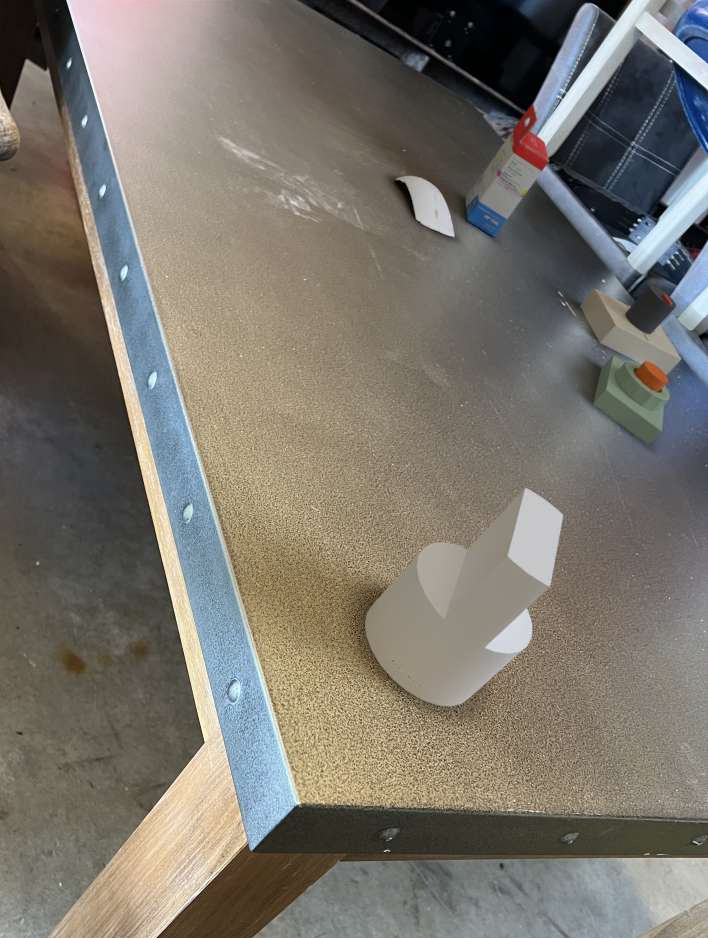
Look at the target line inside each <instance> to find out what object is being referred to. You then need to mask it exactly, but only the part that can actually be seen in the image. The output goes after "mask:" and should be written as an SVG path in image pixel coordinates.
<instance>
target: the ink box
mask: <svg viewBox="0 0 708 938" xmlns="http://www.w3.org/2000/svg"><path fill="white" fill-rule="evenodd" d="M528 119H529V122H528V123H527V121H528ZM537 122H538V118H537V113H536V109H535V105H534V104H531V105H530V106H529V107H528V108H527V110H526V111H525V113H524V114H523V115H522V117H521V118H520V120H519V121H518V122H517V123H516V125H515V126H514V128H513V129H512V130H511V132H510V134H509V135H508V137H507V138H506V139H505V141H504V143H503V144H502V145H501V147H500V148H499V149H498V151H497V152H496V154H495V155H494V156H493V158H492V159H491V160H490V163H489V164H488V166H487V167H486V169H485V170H484V171H483V173H482V174H481V176H480V177H479V179H478V180H477V181H476V183H475V185H474V186H473V188H472V189H471V190H470V191H469V193H468V194H467V196H466V197H465V215H466V218H465V219H466V221H467V222H469V223H470V224H472V225H473V226H475V227H477V228H478V229H480V230H482V231H483V232H484V233H486V234H488V235H489V236H491V237H493V238H495V237H496V236H497V235H498V233H499V232H500V230H501V229H502V227H503V226H504V224H505V223H506V222H507V221H508V219H509V218H510V217H511V215H512V214H513V212H514V210H516V208H517V206H518V205H519V204H520V202H521V200H523V198H524V197H525V195H526V194H527V193H528V191H529V190H530V189H531V187H532V186H533V184H534V183H535V182H536V180H537V179H538V177H539V176H540V175H541V173H542V172H543V171H544V169H545V168H546V166H547V165H548V164H549V163H550V158H549V155H548V151H547V147H546V143H545V141H544V140H543V139H542V138H540V137H539V136H537V135H536V134H535V133H533V132H532V130H533V128H534V127H535V126H536V124H537Z"/></svg>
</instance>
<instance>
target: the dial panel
mask: <svg viewBox="0 0 708 938" xmlns="http://www.w3.org/2000/svg"><path fill="white" fill-rule="evenodd" d="M579 307H580V309H581V311H582V312H583V314H584V316H585V318H586V320H587V323H588V324H589V326H590V327H591V330H592V331H593V333H594V335H595V337H596V339H597V340H598V342H599V344H601V345H603V346H605V347H607V348H609V349H611V350H613V351H615V352H616V353H619V354H621V355H623V356H625V357H626V358H629V359H631V360H632V361H634V362H636V363H638V364H640V365H641V364H642V363H643V362H644V361H649V362H651V363H653V364H655V365H656V366H657V367H659V368H660V369H661V370H662V371H663V372H664V373H665V374H666V376H668V374H669V373H671V371H672V370H673V369H674V368H675V367H676V366H677V365H678V364H679V363H680V362H681V361H682V358H681V356H680V354H679V353H678V351H677V349H676V348H675V346H674V345H673V344H672V341H671V340H670V339H669V337H668V335H667V334H666V332H665V330H664V328H663V327H662V325H661V324H660V325H659V326H658V327H657V328H656V329H655V330H654V331H653V332H652V333H651V334H647V333H645V332H643V331H641V330H639V329H638V328H637V327H636V326H634V325H633V324H632V323H631V322H630V321H629V319H628V318H627V316H626V312H627V311H628V310H629V309H630V307H631V305H629V304H625V303H623V302H622V301H620V300H618V299H616V298H614V297H613V296H610V295H608V294H607V293H605V292H603V291H602V290H600V289H597V288H593V290H592V291H591V292H590V293H589V295H588V296H587V297H586V298H585V299H584V300H583V302H581V304H580V305H579Z"/></svg>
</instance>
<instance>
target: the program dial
mask: <svg viewBox="0 0 708 938" xmlns="http://www.w3.org/2000/svg"><path fill="white" fill-rule="evenodd" d="M676 308H677V303H676V302H675V301H674V299H673V298H672V297H671V296H670V295H669V294H667V292H666V291H664V290H662V289H661V288H660V287H658V286H656V285H653V284H650V285H649V286H648V287H647V288H646V289H645V291H643V293H642V294H641V295H640V296H639V297H638V299H636V301H634V303H633V304H632V305H630V309H629V310H628V311H627V312H626V316H627V318H628V319H629V321H630V322H631V323H632V324H633V325H634V326H636V327H637V328H638V329H639V330H641V331H643V332H645V333H647V334H651V333H652V332H653V331H654V330H655V329H656V328H657V327H658V326H659V325H660V326H661V324H662V323H663V322H664V321H665V320H666V319H667V317H668V316H669V315H670V314H671V313H672V312H673V311H674V310H675V309H676Z"/></svg>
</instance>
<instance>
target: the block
mask: <svg viewBox="0 0 708 938" xmlns="http://www.w3.org/2000/svg"><path fill="white" fill-rule="evenodd" d="M640 366H641V364H640V363H638V362H637V361H635V360H626V361H625V362H624V361H623V360H622V359H620V358H618V357H617V356H616V355H615V354H613V355H612V356H611V357H610V358H608V360H607V361H606V362H605V363H604V364H603V366H602V367H601V368H600V372H599V376H598V380H597V385H596V389H595V392H594V393H595V394H594V398H593V401H592V404H593V405H594V406H595V407H597V408H598V409H599V410H601V411H602V412H603V413H605V414H606V415H607V416H609V417H610V418H611V419H612V420H614V421H615V422H616V423H618V424H619V425H621V427H623V428H625V429H626V430H627V431H629V432H630V433H631V434H633V435H634V436H635V437H637V438H638V439H639V440H641V442H643V443H645V444H646V445H647V446H649V445H650V444H651V443H652V442H653V441H654V440H655V439H657V437H658V436H659V435H660V434H661V433H663V424H664V413H665V412H664V411H665V405H666V404H667V403H668V402H669V401H670V398H671V393H670V391H669V390H668V388H667V387H666V384H665V385H664V387H663V388H662V389H661V390H660V391H659V392H658V393H657V392H655V391H653V390H651V389H650V388H649V387H647V386H646V385H645V384H643V383H642V382H641V381H640V380H639V379H638V378H637V376H636V374H635V373H634V372H635V371H636V370H637V369H638V368H639V367H640Z"/></svg>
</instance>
